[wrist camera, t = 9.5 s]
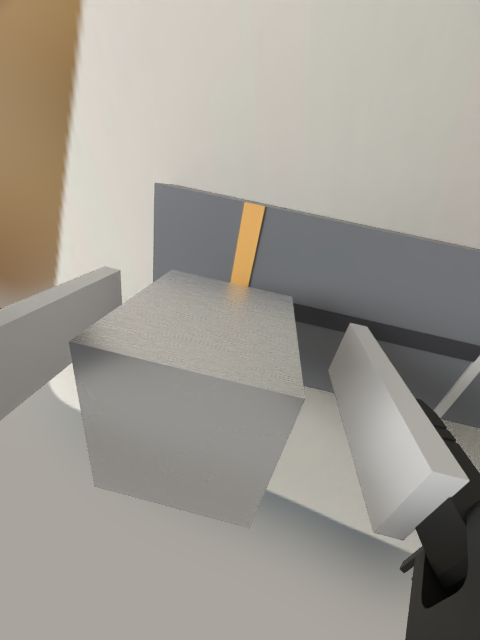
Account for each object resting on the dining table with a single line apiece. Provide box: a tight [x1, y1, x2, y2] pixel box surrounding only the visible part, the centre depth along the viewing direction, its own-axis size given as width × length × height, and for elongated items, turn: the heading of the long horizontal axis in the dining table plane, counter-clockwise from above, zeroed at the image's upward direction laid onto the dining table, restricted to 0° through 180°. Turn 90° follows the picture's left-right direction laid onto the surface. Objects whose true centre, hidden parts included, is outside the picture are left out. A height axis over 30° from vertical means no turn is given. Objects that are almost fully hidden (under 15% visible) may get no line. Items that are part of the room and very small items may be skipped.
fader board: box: [153, 183, 480, 428], centre depth 15 cm, size 24×10×3 cm, turn 80°
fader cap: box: [69, 270, 305, 528], centre depth 10 cm, size 4×5×9 cm
